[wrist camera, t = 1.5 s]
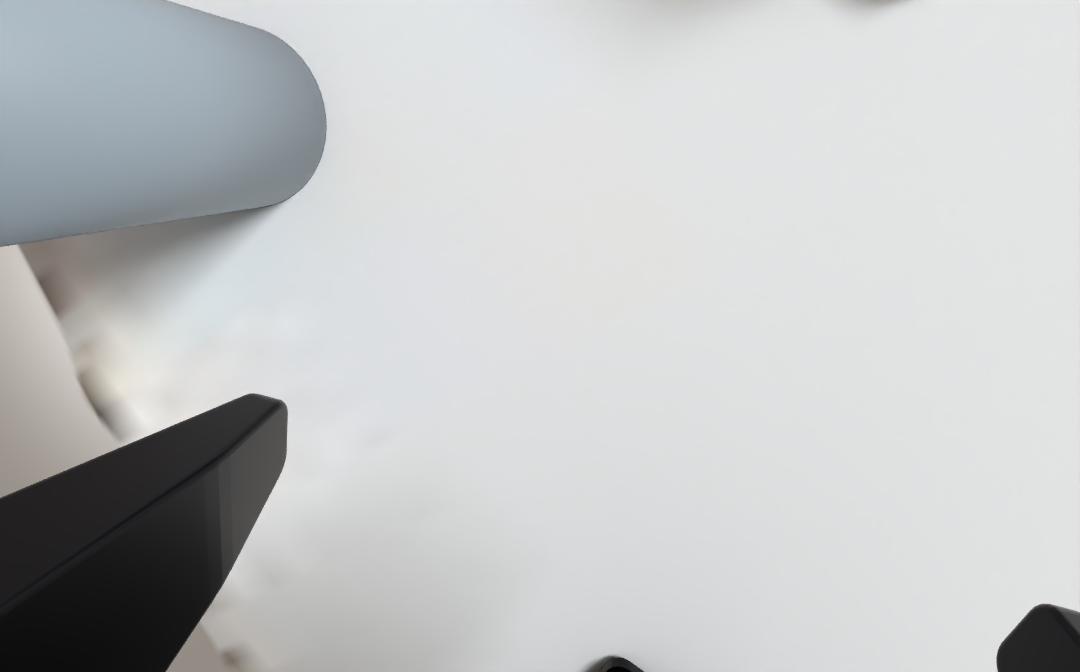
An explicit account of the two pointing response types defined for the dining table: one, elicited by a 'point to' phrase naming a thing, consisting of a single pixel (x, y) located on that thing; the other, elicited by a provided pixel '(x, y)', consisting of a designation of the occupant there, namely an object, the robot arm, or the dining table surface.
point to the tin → (145, 116)
